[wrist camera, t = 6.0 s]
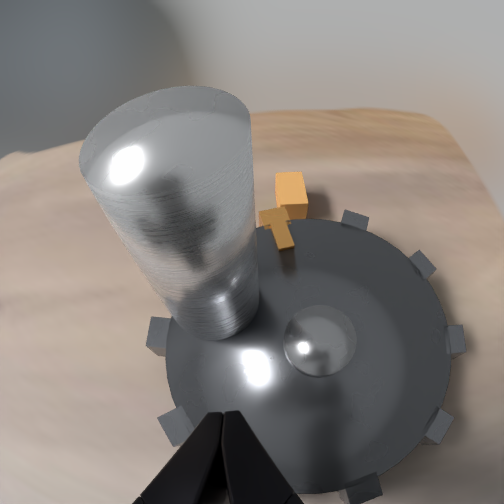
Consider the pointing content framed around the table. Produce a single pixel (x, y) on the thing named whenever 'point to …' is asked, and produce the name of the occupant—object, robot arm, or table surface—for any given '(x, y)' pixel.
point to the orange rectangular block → (291, 194)
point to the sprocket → (271, 299)
